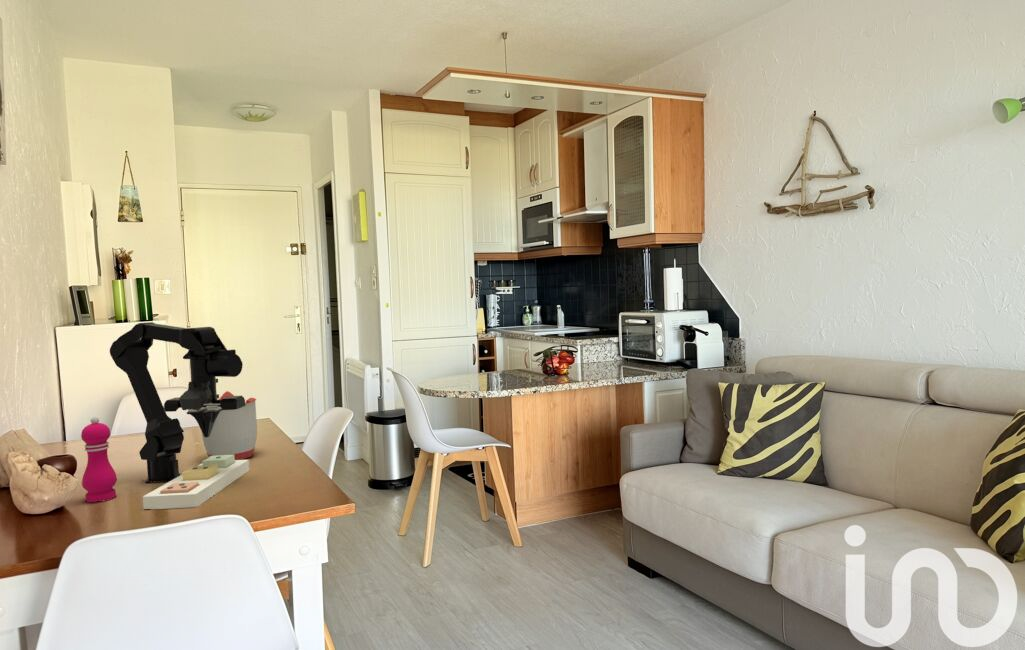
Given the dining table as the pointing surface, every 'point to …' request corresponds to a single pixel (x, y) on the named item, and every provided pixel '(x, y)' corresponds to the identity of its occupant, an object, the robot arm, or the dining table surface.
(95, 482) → the pepper mill
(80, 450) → the dining table surface
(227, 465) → the tile
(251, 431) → the citrus juicer
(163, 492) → the three-pip tile
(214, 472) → the tile
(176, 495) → the rail
